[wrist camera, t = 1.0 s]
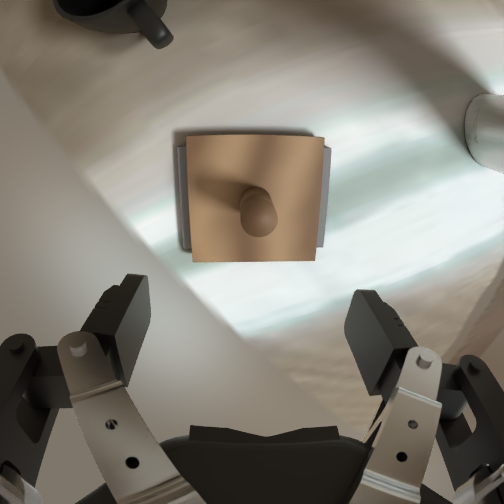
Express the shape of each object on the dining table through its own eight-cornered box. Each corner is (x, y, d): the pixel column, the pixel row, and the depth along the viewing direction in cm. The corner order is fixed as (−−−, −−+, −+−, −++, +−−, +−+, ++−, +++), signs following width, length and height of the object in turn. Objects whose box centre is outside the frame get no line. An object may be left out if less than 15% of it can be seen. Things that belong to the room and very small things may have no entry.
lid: (321, 137, 26) (343, 143, 21) (312, 256, 31) (327, 286, 26) (187, 135, 26) (174, 141, 20) (194, 257, 31) (185, 289, 25)
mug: (144, 89, 24) (103, 80, 15) (87, 11, 19) (38, -16, 11) (219, 38, 22) (211, 3, 14) (155, -38, 18) (127, -83, 9)
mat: (329, 147, 27) (331, 148, 27) (321, 244, 31) (323, 247, 31) (178, 146, 26) (177, 147, 26) (184, 246, 31) (183, 248, 30)
